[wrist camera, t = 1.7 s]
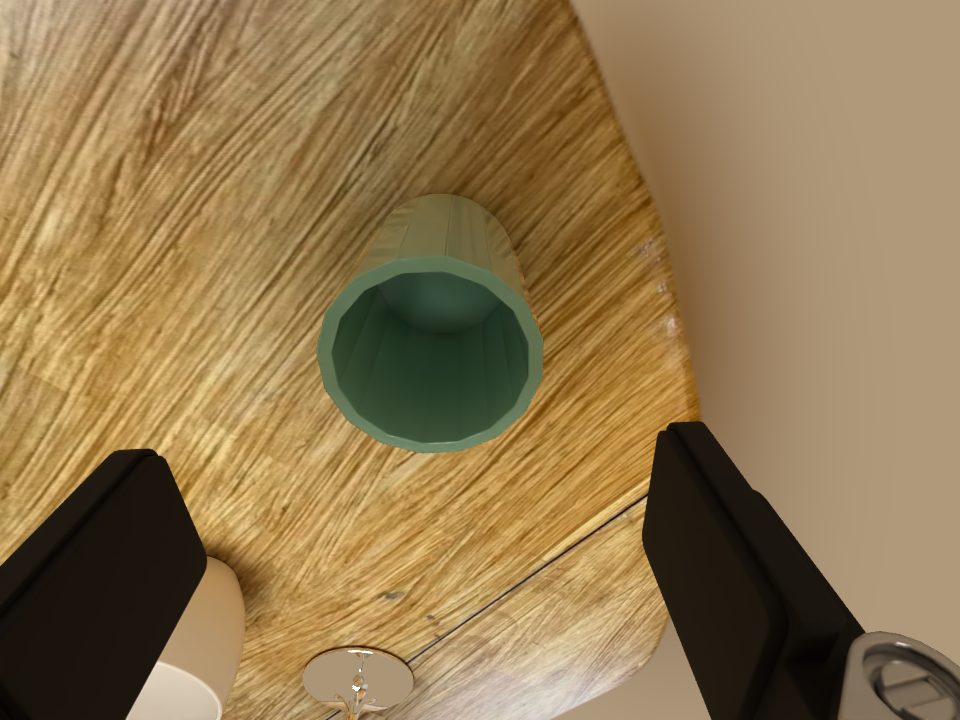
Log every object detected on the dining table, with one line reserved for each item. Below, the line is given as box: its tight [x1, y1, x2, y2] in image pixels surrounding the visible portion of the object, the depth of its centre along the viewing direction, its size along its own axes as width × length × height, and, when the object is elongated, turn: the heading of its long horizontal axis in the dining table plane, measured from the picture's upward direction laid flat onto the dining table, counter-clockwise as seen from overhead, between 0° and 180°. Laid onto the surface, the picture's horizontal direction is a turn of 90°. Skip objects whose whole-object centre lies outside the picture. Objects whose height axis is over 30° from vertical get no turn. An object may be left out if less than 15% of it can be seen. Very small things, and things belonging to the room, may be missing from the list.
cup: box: [126, 556, 246, 720], centre depth 26 cm, size 8×10×7 cm
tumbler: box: [316, 193, 543, 453], centre depth 17 cm, size 6×6×8 cm
